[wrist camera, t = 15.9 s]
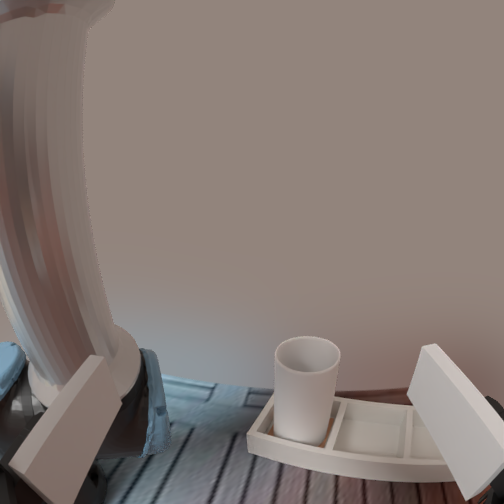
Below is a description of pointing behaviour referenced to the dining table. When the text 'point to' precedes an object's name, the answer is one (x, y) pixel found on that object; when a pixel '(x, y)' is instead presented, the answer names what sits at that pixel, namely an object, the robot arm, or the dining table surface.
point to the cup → (304, 388)
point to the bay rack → (359, 443)
